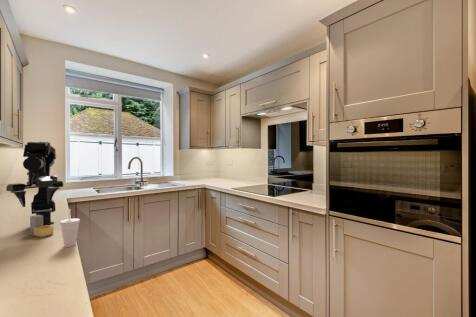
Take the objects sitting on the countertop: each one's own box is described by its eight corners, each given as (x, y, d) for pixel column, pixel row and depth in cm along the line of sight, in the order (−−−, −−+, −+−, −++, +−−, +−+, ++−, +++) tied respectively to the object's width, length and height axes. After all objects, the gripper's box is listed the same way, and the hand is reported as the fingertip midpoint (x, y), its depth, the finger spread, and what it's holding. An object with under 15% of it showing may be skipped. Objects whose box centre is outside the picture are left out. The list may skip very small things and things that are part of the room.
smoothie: (77, 240, 94) (77, 206, 94) (82, 244, 90) (82, 209, 90) (57, 245, 89) (57, 209, 89) (62, 249, 85) (62, 212, 85)
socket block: (33, 236, 99) (33, 228, 99) (46, 232, 104) (46, 225, 104) (41, 237, 97) (41, 229, 97) (53, 234, 101) (53, 226, 101)
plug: (30, 234, 102) (30, 216, 102) (38, 232, 105) (38, 214, 105) (35, 235, 100) (35, 217, 100) (43, 233, 103) (43, 215, 103)
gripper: (20, 171, 91) (19, 210, 90) (70, 169, 108) (70, 202, 108) (5, 170, 95) (5, 208, 95) (56, 169, 112) (56, 201, 112)
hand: (36, 205), depth 102 cm, fingers open, 9 cm apart
